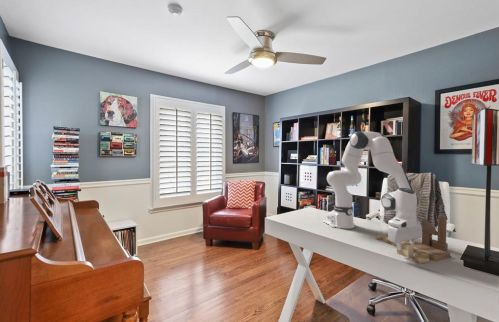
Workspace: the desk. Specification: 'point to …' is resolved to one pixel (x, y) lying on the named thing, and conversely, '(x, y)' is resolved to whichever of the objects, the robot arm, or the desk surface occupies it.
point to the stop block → (421, 257)
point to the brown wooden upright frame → (435, 233)
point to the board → (420, 248)
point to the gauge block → (406, 249)
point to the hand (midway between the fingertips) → (405, 248)
